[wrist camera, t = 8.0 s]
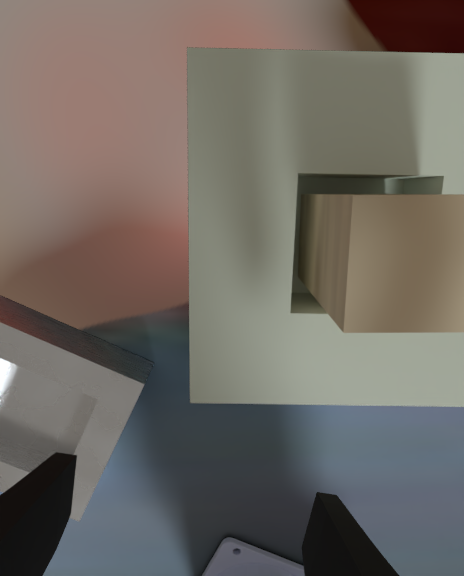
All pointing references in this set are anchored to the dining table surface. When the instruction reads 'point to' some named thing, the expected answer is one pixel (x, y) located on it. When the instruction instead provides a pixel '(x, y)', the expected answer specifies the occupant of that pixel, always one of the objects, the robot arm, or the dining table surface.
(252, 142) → the socket
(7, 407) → the stand
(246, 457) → the dining table surface
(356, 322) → the peg
